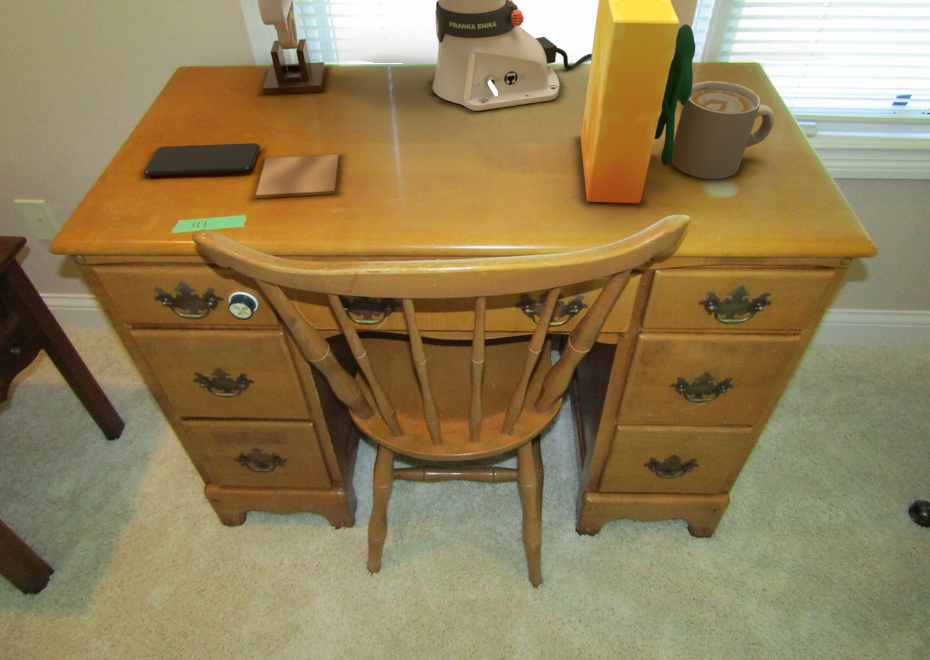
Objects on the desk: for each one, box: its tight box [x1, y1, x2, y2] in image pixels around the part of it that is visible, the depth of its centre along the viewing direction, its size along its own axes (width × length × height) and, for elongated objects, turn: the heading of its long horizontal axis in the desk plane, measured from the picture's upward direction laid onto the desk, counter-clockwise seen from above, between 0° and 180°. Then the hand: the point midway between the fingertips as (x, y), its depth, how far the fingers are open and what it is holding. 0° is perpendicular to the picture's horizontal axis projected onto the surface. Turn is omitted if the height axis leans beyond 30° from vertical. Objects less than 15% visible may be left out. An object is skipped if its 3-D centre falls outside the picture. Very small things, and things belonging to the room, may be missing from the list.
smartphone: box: [143, 142, 261, 177], centre depth 96 cm, size 8×1×16 cm
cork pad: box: [255, 153, 340, 199], centre depth 93 cm, size 11×10×1 cm
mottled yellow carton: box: [580, 0, 696, 204], centre depth 85 cm, size 18×12×24 cm
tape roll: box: [276, 10, 299, 50], centre depth 109 cm, size 2×6×6 cm, turn 5°
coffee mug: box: [670, 80, 775, 180], centre depth 91 cm, size 13×10×10 cm
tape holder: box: [262, 38, 326, 96], centre depth 113 cm, size 10×10×6 cm
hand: (288, 32), depth 110 cm, fingers closed on tape roll, 6 cm apart
